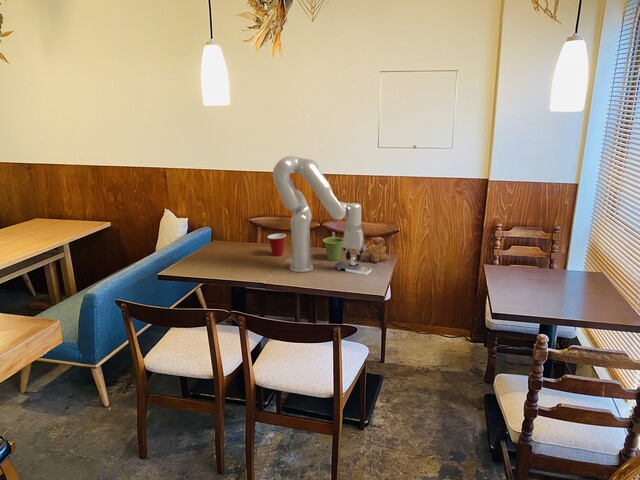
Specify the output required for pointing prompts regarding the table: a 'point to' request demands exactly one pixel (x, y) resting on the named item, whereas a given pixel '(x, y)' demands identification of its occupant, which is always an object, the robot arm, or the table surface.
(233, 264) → the table surface
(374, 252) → the teddy bear
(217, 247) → the table surface
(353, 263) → the steel pin
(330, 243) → the plant pot
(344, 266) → the gray white flat block
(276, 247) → the plastic cup
